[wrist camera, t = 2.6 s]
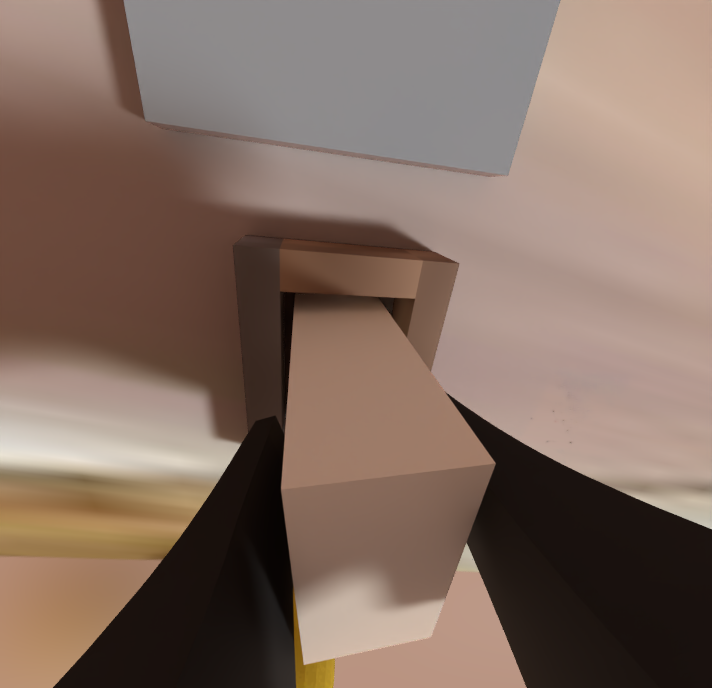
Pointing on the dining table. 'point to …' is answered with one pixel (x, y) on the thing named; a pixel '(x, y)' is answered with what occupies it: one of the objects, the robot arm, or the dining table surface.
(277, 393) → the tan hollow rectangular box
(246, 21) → the tile
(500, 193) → the dining table surface
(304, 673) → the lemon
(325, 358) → the tan rectangular post
